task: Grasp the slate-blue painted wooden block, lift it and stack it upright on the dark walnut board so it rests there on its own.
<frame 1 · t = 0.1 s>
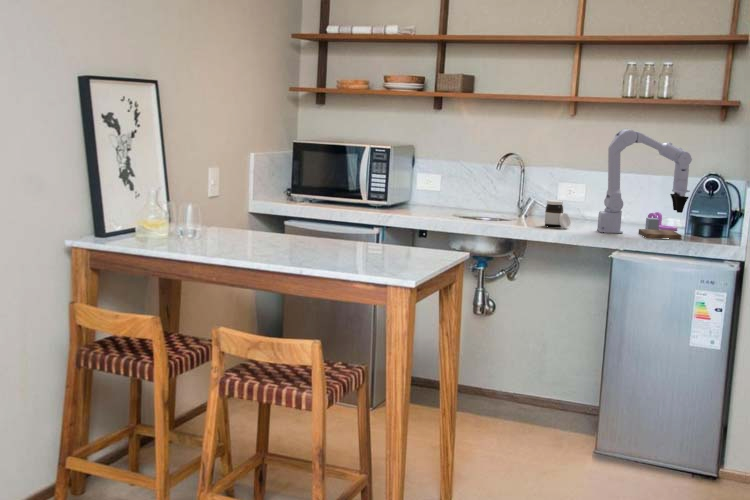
hand: (677, 211, 362), 10 cm above the kitchen counter, fingers open, 7 cm apart
slate block: (651, 232, 368), on the kitchen counter
spread jar: (557, 228, 375), on the kitchen counter
bracket: (663, 229, 380), on the kitchen counter
walnut board: (659, 236, 355), on the kitchen counter
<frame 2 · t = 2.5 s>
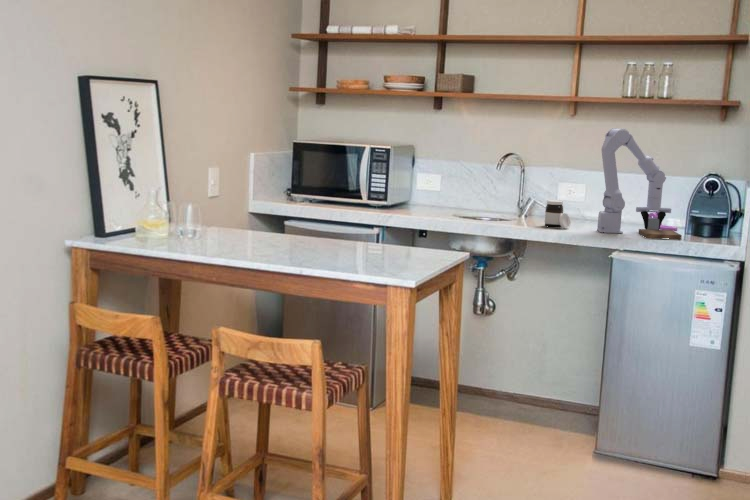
hand: (651, 228, 368), 1 cm above the kitchen counter, fingers closed on slate block, 4 cm apart
slate block: (651, 232, 368), on the kitchen counter, touching gripper
everything else where it was.
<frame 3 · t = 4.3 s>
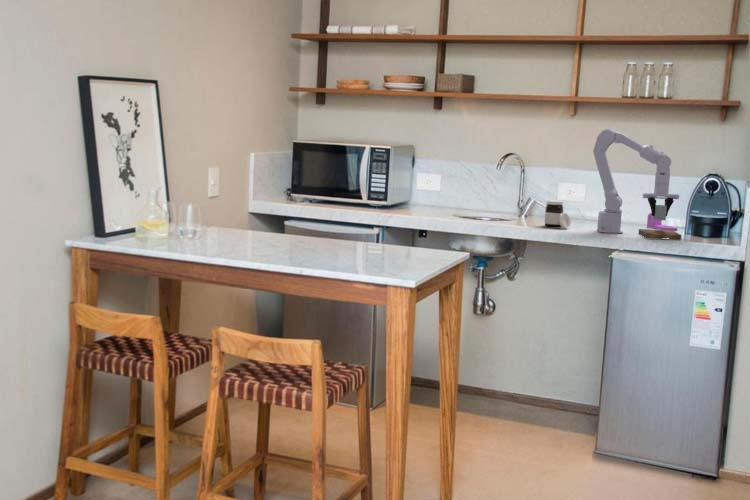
hand: (659, 215, 357), 8 cm above the kitchen counter, fingers closed on slate block, 4 cm apart
slate block: (658, 219, 358), point 7 cm above the kitchen counter, touching gripper
everything else where it was.
when the fingers open (4 cm above the kitchen counter, at t = 6.4 s): slate block stays where it is, resting on walnut board.
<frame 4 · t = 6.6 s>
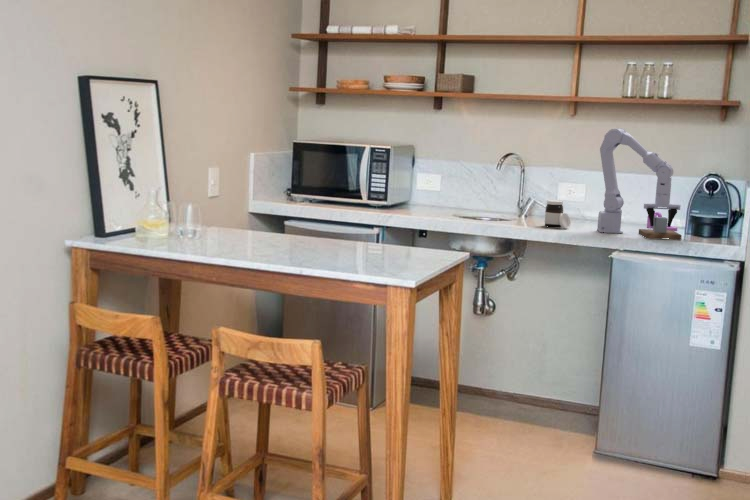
hand: (660, 226, 355), 4 cm above the kitchen counter, fingers open, 6 cm apart
slate block: (659, 231, 355), point 2 cm above the kitchen counter, touching walnut board
everything else where it was.
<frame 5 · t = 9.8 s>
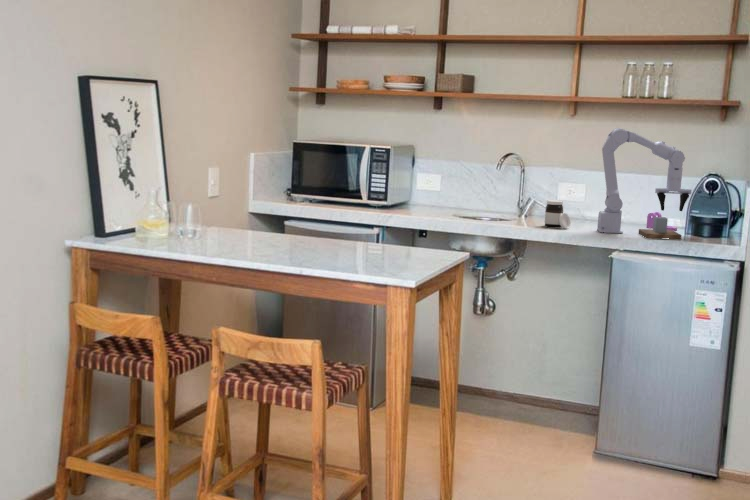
hand: (671, 210, 360), 10 cm above the kitchen counter, fingers open, 7 cm apart
nothing on the kitchen counter moved.
at the end: slate block inside the target area on the walnut board (0.3 cm from its centre), point 2.0 cm above the walnut board's base; slate block tilted 0°; the gripper is holding nothing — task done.
